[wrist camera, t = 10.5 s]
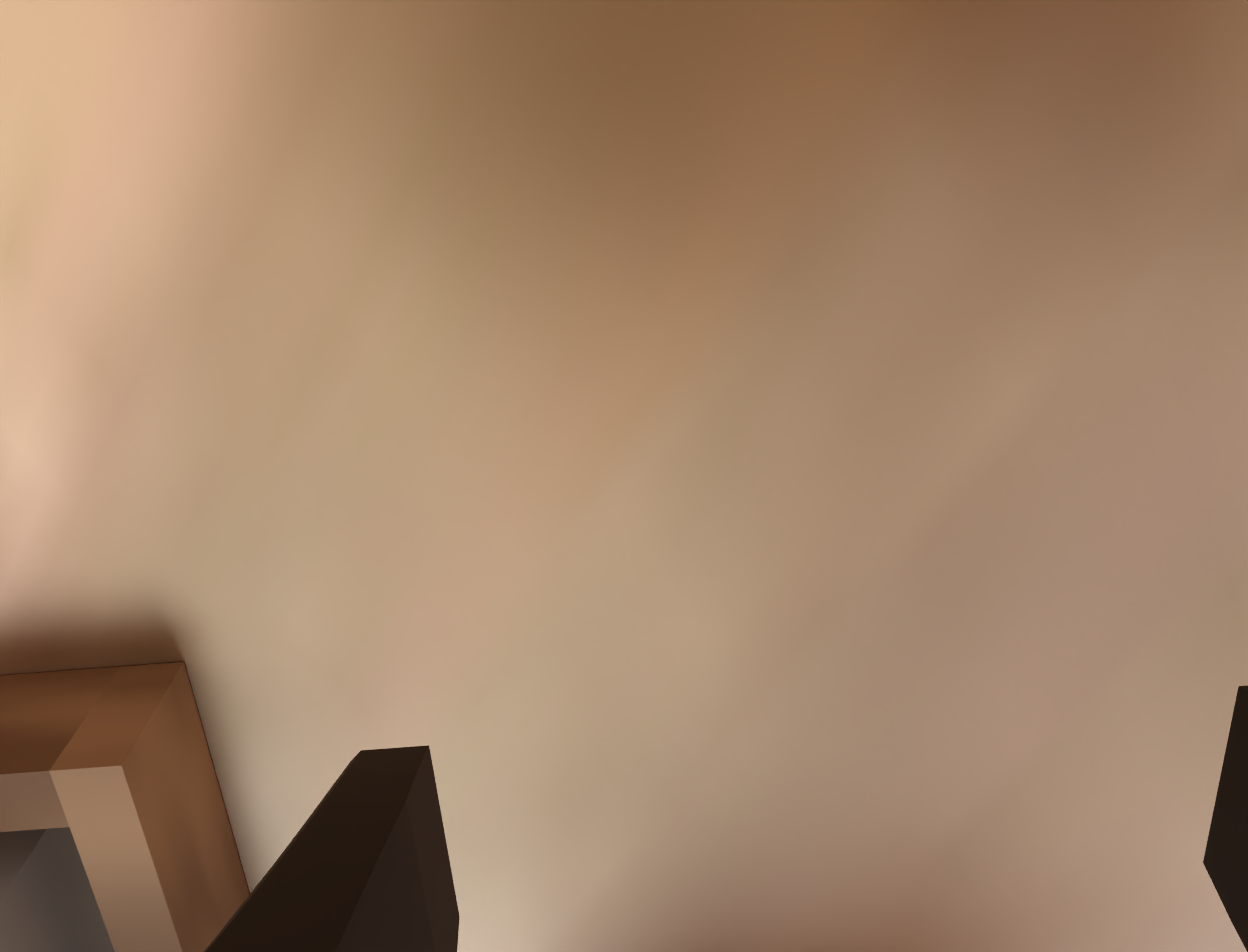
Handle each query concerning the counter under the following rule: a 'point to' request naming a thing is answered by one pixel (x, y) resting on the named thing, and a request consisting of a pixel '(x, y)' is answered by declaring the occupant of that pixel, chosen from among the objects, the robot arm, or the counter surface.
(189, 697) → the frame
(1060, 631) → the counter surface
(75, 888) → the slate peg
